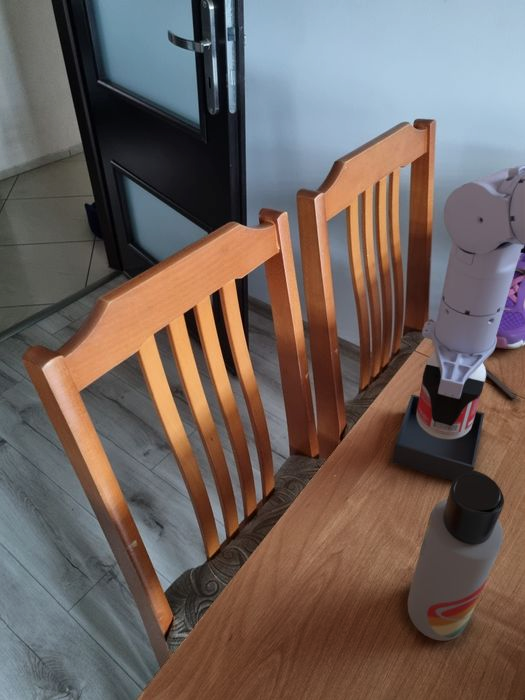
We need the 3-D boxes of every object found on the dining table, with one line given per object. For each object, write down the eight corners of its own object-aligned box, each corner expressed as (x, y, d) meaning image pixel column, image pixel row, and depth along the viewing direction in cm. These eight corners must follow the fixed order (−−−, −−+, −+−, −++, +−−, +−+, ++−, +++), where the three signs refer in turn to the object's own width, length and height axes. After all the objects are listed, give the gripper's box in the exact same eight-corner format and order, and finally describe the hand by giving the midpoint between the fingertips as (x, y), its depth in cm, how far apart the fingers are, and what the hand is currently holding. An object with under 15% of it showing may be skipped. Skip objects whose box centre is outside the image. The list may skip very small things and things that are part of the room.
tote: (478, 431, 71) (484, 412, 69) (468, 485, 65) (474, 467, 63) (408, 412, 74) (411, 394, 72) (391, 462, 68) (394, 444, 66)
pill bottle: (450, 395, 66) (468, 322, 59) (482, 431, 62) (506, 357, 55) (405, 410, 65) (417, 337, 58) (435, 448, 60) (452, 374, 53)
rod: (513, 397, 74) (517, 396, 74) (428, 319, 88) (432, 318, 88) (512, 401, 75) (516, 399, 75) (428, 323, 88) (431, 322, 88)
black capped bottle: (474, 642, 52) (531, 522, 39) (412, 642, 52) (449, 523, 39) (458, 583, 56) (505, 457, 43) (401, 583, 56) (431, 458, 43)
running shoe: (457, 351, 83) (471, 297, 76) (482, 271, 98) (495, 220, 92) (525, 368, 80) (546, 313, 73) (540, 283, 95) (559, 231, 88)
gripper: (443, 253, 59) (425, 351, 68) (414, 334, 49) (396, 436, 58) (514, 265, 56) (486, 365, 65) (498, 352, 46) (467, 456, 55)
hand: (448, 399), depth 61 cm, fingers closed on pill bottle, 6 cm apart
